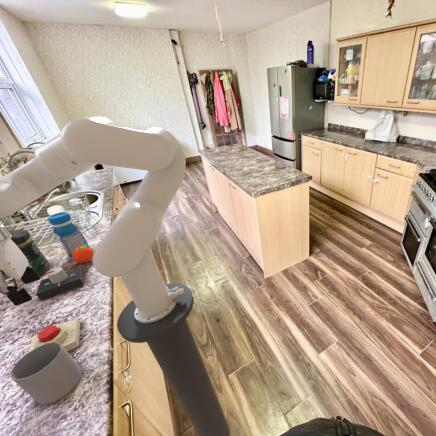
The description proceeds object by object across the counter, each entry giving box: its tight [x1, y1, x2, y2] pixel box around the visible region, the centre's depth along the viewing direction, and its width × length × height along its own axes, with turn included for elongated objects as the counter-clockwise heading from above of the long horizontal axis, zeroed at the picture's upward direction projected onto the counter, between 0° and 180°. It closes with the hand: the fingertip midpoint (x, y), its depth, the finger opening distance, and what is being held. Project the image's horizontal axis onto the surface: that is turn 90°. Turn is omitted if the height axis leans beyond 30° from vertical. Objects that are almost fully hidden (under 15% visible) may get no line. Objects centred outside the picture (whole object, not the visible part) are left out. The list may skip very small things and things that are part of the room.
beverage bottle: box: [47, 211, 91, 260], centre depth 102 cm, size 8×8×20 cm
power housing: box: [27, 317, 81, 353], centre depth 65 cm, size 10×10×4 cm
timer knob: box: [45, 266, 68, 284], centre depth 86 cm, size 4×4×4 cm
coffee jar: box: [8, 228, 51, 276], centre depth 92 cm, size 10×8×19 cm
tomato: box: [72, 244, 95, 264], centre depth 100 cm, size 8×7×7 cm
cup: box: [9, 342, 83, 406], centre depth 54 cm, size 8×8×10 cm
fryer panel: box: [35, 266, 86, 301], centre depth 87 cm, size 12×9×3 cm
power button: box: [37, 324, 60, 342], centre depth 64 cm, size 4×4×2 cm
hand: (29, 291), depth 63 cm, fingers open, 9 cm apart
